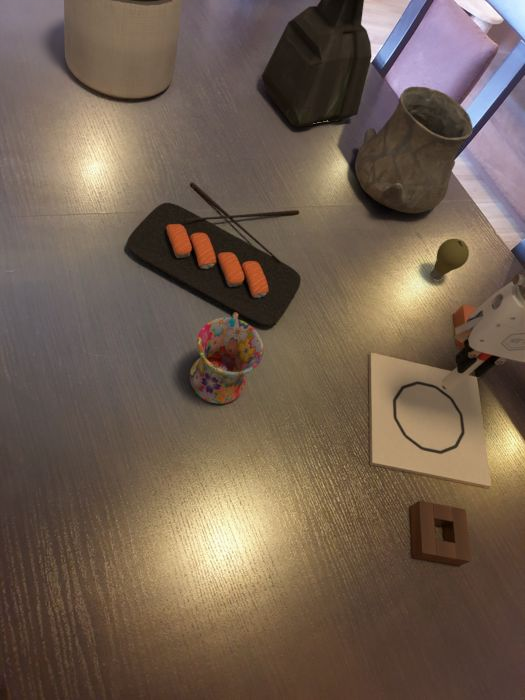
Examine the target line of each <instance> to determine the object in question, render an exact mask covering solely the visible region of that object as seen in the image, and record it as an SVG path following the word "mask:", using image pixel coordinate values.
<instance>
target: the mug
mask: <svg viewBox="0 0 525 700" xmlns="http://www.w3.org/2000/svg"><path fill="white" fill-rule="evenodd" d="M196 341H197V343H196V345H197V350H198V353H199V355H200V357H199V358H197V360H196V361H195V362H194V363H193V364H192V366H191V369H190V371H189V380H190V381H189V382H190V384H191V387H192V389H193V391H194V392H195V393H196V394H197V395H198V396H199V397H200V398H201V399H202V400H204V401H206V402H209V403H211V404H217V405H218V404H219V405H220V404H227V403H231V402H232V401H235V400H236V399H238V398H239V397H240V396H241V395H242V393H243V391H244V390H245V385H246V376H245V374H248V373H250V372H252V371H253V370H255V369H256V368H257V367H258V366H259V365H260V363H261V361H262V360H263V356H264V344H263V340H262V337H261V336H260V334H259V332H257V330H256V329H255V328H254V327H253V326H252V325H250V324H249V323H248V322H246V321H244V320H242V319H239V313H237V312H235V311H234V312H233V313H232V315H231V317H230V316H229V317H226V316H225V317H218V318H214V319H212V320H210V321H208V322H207V323H206V324H204V326H202V327H201V329H200V331H199V333H198V336H197V340H196Z"/></svg>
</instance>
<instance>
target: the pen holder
mask: <svg viewBox="0 0 525 700" xmlns="http://www.w3.org/2000/svg"><path fill="white" fill-rule="evenodd" d="M477 308H478V307H474V306H472V305H467V304H462V305H461V306H460V307H459V308H458V309H457V310H456V311H455V312H454V313H453V314H452V320H453V327H454V328H456V327H458V326H460V325H462V324H465V323H466V321H467V319H468V318H469V316H470V315H471V314H472V313H473V312H474V311H475V310H476V309H477ZM454 328H453V329H454ZM455 345H456V348H459V349H463V348H464V347H465V346H464V343H463V342H462V343H461V342H460V341H459V340H457V339H456V338H455Z"/></svg>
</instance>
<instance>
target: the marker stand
mask: <svg viewBox="0 0 525 700" xmlns="http://www.w3.org/2000/svg"><path fill="white" fill-rule="evenodd" d="M409 518H410V519H409V520H410V533H411V534H410V538H411V540H410V541H411V557H412V558H413V559H418V560H423V561H429V562H435V563H439V564H440V563H441V564H447V565H453V566H463V565H465V564H468V563H471V562H472V558H471V548H470V539H469V529H468V521H467V511H466V508H459V507H455V506H450V505H445V504H440V503H436V502H435V503H434V502H428V501H424V500H418V501H416V502H414V503H413V504H412V505H410V506H409ZM436 527H440V528H442V532H443V533H442V535H443V540H440V539H436V538H437V537H436Z"/></svg>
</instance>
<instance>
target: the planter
mask: <svg viewBox="0 0 525 700" xmlns="http://www.w3.org/2000/svg"><path fill="white" fill-rule="evenodd" d="M183 1H184V0H63V16H64V17H63V19H64V21H63V22H64V23H63V25H64V57H65V61H66V65H67V68H68V69H69V71H70V72H71V74H72V75H73V76H74V77H75V79H77V80H78V81H79V82H81V84H83V85H84V86H85V87H88V88H89V89H91V90H93V91H95V92H97V93H100V94H102V95H105V96H108V97H111V98H115V99H121V100H141V99H148V98H151V97H154V96H156V95H159V94H161V93H163V92H164V91H166V90H167V89H168V87H170V85H171V83H172V81H173V78H174V73H175V68H176V59H177V50H178V41H179V33H180V27H181V26H180V25H181V17H182V10H183V9H182V8H183Z"/></svg>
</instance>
